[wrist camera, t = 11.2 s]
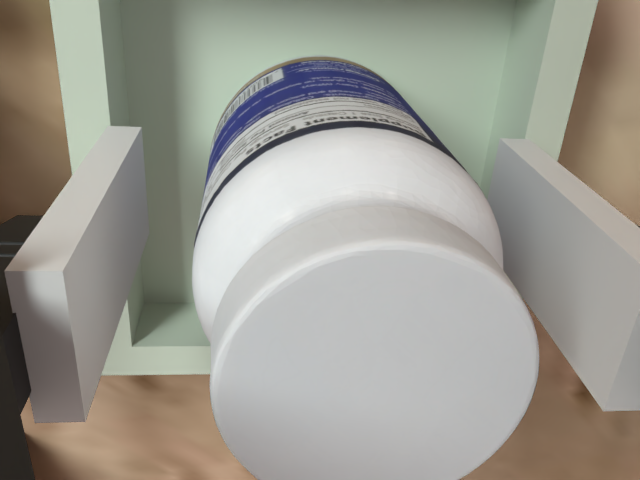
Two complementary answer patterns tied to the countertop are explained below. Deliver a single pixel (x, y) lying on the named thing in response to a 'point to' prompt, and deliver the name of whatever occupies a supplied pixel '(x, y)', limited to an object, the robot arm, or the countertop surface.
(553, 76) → the tray
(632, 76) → the countertop surface
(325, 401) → the pill bottle
